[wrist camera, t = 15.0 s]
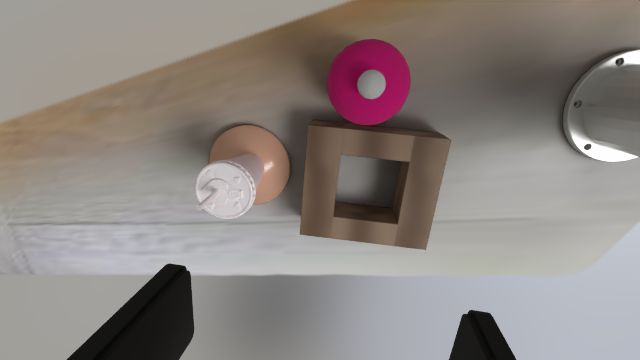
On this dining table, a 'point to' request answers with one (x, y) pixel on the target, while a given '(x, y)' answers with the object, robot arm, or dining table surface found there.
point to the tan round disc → (263, 146)
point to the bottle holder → (361, 220)
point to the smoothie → (229, 185)
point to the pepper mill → (368, 82)
